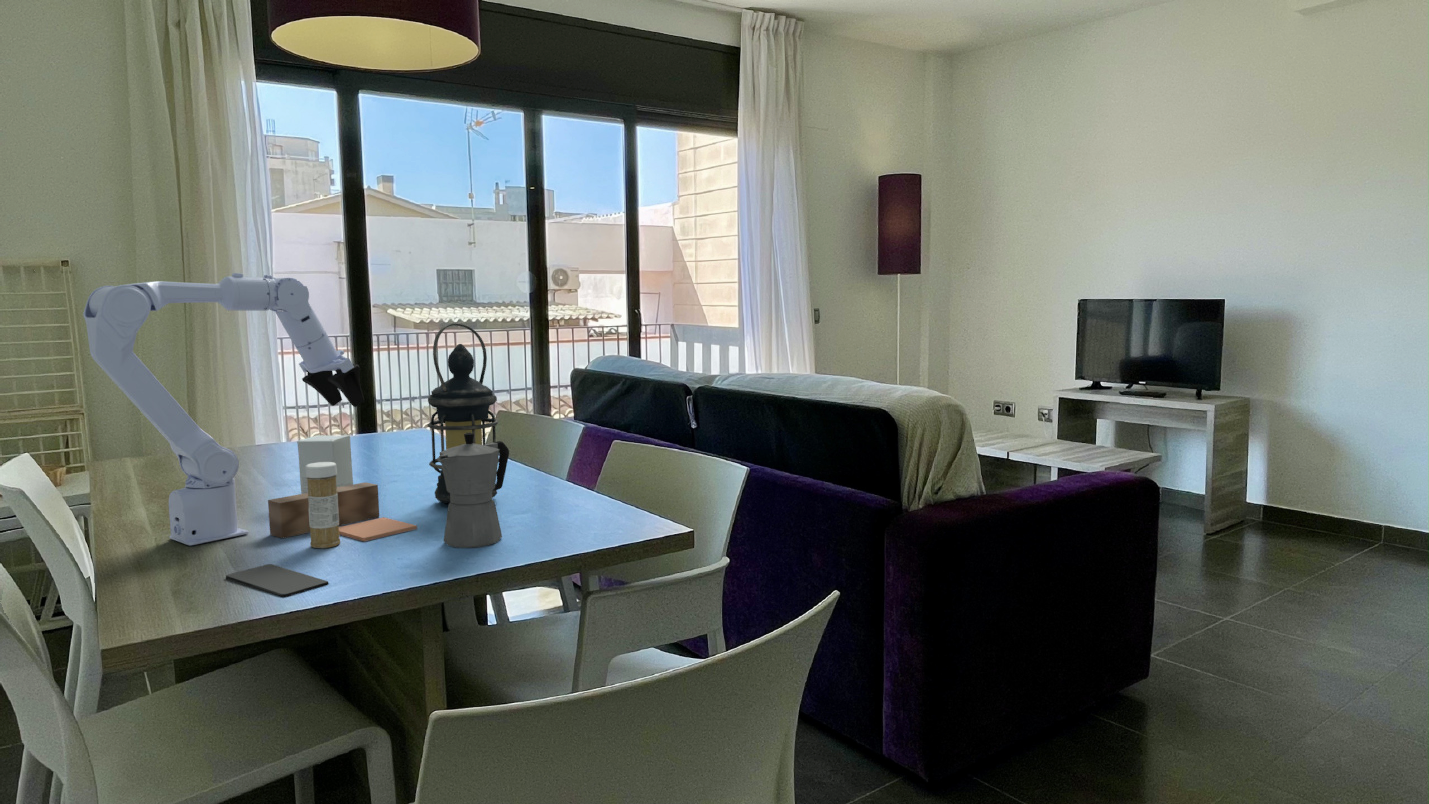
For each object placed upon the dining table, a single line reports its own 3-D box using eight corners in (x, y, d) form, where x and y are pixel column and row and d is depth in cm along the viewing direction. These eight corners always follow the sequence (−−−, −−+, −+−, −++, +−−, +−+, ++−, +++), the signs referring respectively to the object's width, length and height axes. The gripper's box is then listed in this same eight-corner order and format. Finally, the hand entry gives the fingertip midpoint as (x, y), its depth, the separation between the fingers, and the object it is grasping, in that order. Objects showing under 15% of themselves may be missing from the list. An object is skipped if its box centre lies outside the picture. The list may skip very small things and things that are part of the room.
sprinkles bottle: (323, 540, 146) (319, 460, 145) (347, 542, 145) (342, 461, 143) (303, 548, 142) (298, 465, 140) (327, 550, 141) (322, 466, 139)
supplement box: (355, 496, 180) (351, 434, 178) (336, 504, 172) (332, 440, 171) (320, 495, 180) (317, 434, 179) (300, 504, 173) (296, 440, 172)
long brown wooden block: (282, 538, 148) (279, 503, 147) (269, 534, 150) (266, 499, 150) (379, 517, 162) (377, 484, 161) (365, 513, 165) (364, 482, 164)
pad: (364, 541, 146) (364, 537, 146) (331, 532, 152) (331, 528, 152) (417, 528, 154) (416, 525, 153) (383, 520, 160) (383, 517, 159)
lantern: (467, 513, 165) (460, 324, 161) (414, 506, 170) (405, 323, 166) (516, 497, 177) (510, 322, 173) (464, 492, 183) (458, 322, 179)
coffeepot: (464, 554, 138) (460, 440, 136) (421, 546, 142) (416, 436, 140) (531, 532, 151) (527, 427, 149) (489, 525, 156) (486, 424, 154)
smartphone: (283, 595, 118) (223, 575, 126) (284, 601, 118) (224, 581, 126) (330, 581, 124) (270, 563, 132) (331, 587, 124) (270, 568, 132)
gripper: (350, 328, 158) (386, 392, 164) (308, 330, 166) (344, 391, 172) (317, 347, 153) (356, 413, 159) (276, 348, 162) (314, 411, 168)
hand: (348, 403), depth 165 cm, fingers open, 7 cm apart
